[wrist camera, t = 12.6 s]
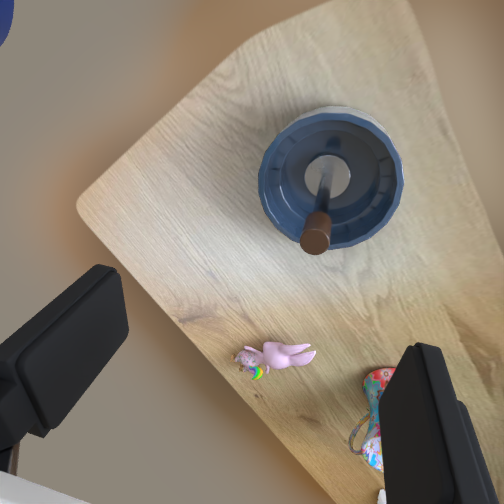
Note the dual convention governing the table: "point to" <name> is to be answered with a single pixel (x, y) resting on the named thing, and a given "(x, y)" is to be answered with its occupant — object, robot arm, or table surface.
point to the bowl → (361, 180)
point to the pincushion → (382, 497)
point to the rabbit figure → (272, 357)
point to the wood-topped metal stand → (323, 199)
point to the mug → (372, 418)
